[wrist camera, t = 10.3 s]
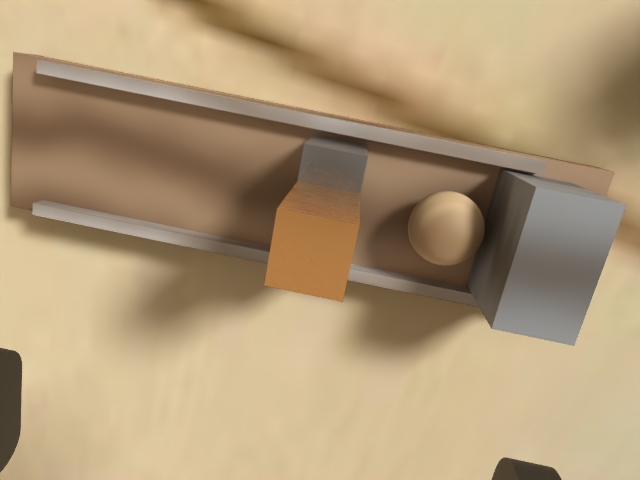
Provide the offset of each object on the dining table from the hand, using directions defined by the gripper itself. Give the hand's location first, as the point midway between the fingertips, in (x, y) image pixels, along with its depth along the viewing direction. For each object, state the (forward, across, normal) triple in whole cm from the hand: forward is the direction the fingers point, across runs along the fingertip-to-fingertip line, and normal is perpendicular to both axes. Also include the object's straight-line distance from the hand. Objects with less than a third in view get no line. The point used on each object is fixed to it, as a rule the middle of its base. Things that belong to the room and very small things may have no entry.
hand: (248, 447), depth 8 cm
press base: (+24, +2, 0) cm, 24 cm away
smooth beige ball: (+20, -6, 0) cm, 21 cm away
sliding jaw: (+22, 0, 0) cm, 22 cm away
